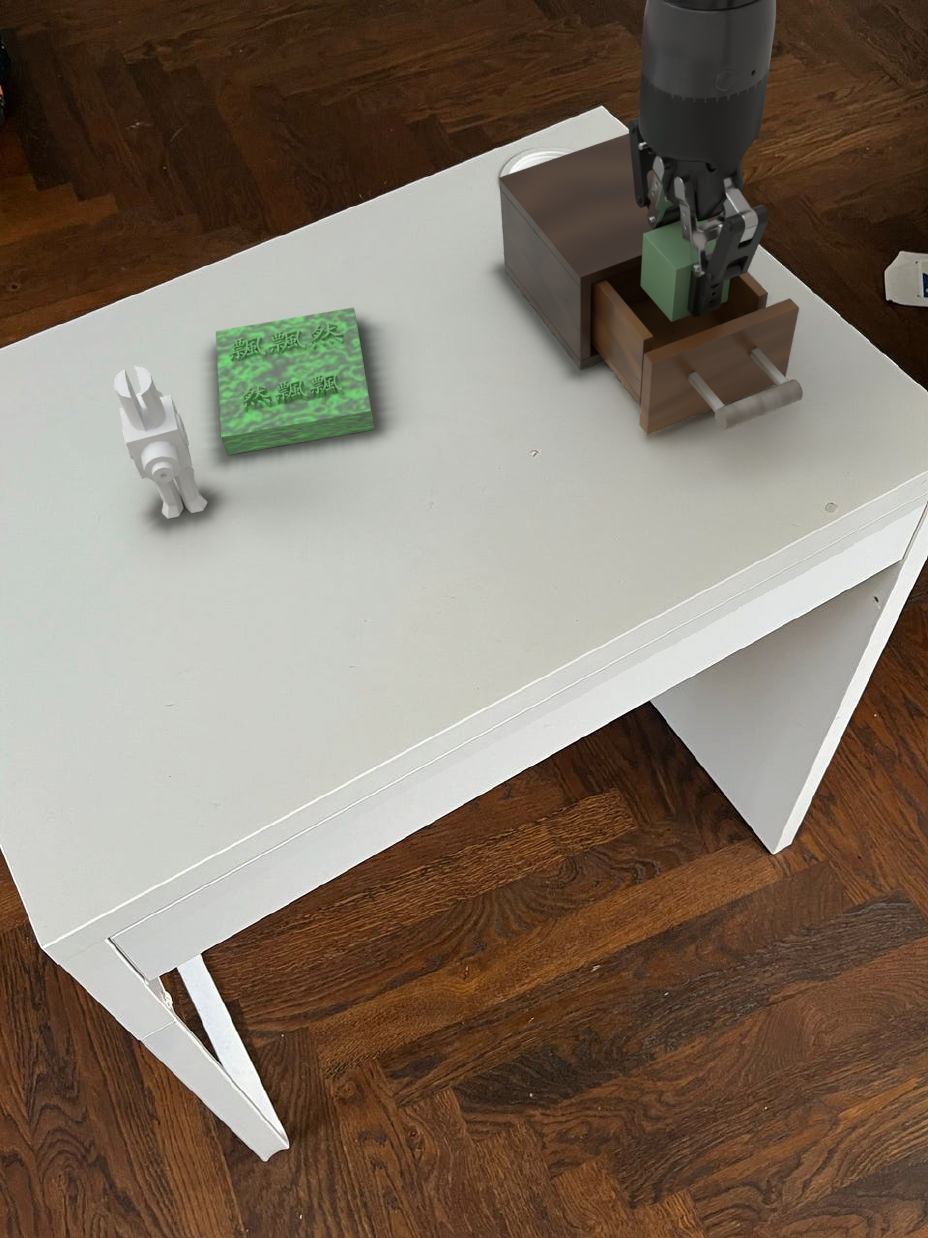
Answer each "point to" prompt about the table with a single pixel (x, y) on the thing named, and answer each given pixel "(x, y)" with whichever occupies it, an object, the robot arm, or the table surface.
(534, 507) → the table surface
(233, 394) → the green jade tablet
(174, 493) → the toy robot
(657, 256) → the block
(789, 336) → the drawer
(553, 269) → the cabinet
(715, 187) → the robot arm
